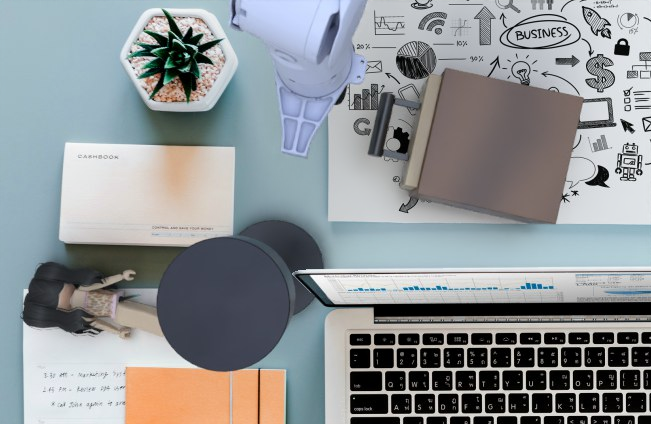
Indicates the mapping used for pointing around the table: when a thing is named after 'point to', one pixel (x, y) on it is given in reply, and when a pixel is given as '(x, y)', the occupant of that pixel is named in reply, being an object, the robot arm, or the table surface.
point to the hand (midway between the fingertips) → (319, 85)
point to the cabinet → (499, 148)
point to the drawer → (419, 130)
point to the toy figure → (84, 302)
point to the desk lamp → (235, 294)
